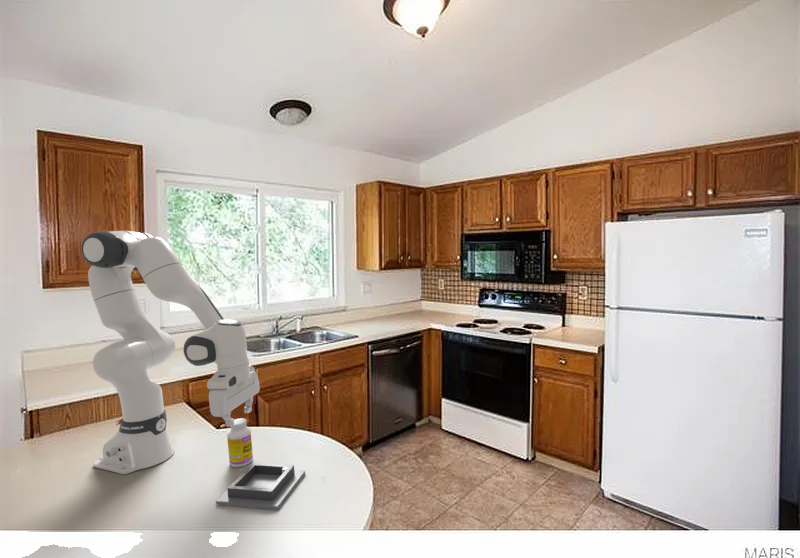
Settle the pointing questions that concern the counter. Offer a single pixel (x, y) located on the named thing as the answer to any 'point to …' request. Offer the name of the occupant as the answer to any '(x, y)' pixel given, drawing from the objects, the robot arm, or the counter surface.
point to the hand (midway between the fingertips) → (239, 418)
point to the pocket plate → (262, 486)
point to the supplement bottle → (239, 443)
